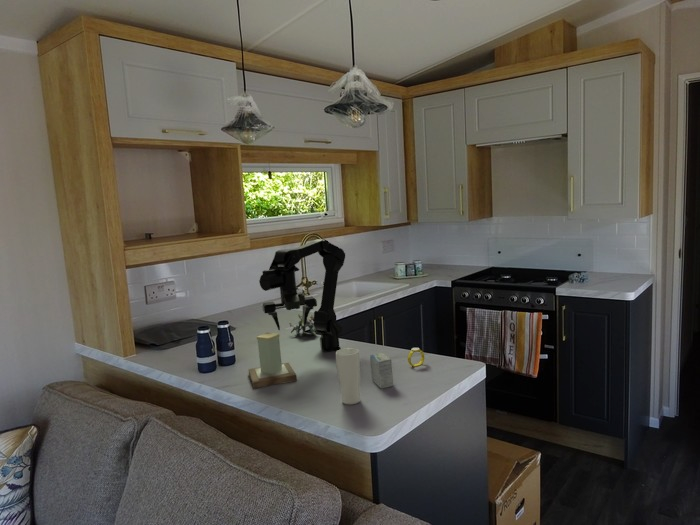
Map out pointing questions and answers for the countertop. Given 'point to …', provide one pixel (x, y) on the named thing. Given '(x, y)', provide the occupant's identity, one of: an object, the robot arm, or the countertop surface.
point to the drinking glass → (349, 374)
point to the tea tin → (269, 353)
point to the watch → (411, 355)
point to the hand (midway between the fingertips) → (291, 328)
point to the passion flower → (308, 323)
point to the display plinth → (272, 376)
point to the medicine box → (381, 370)
